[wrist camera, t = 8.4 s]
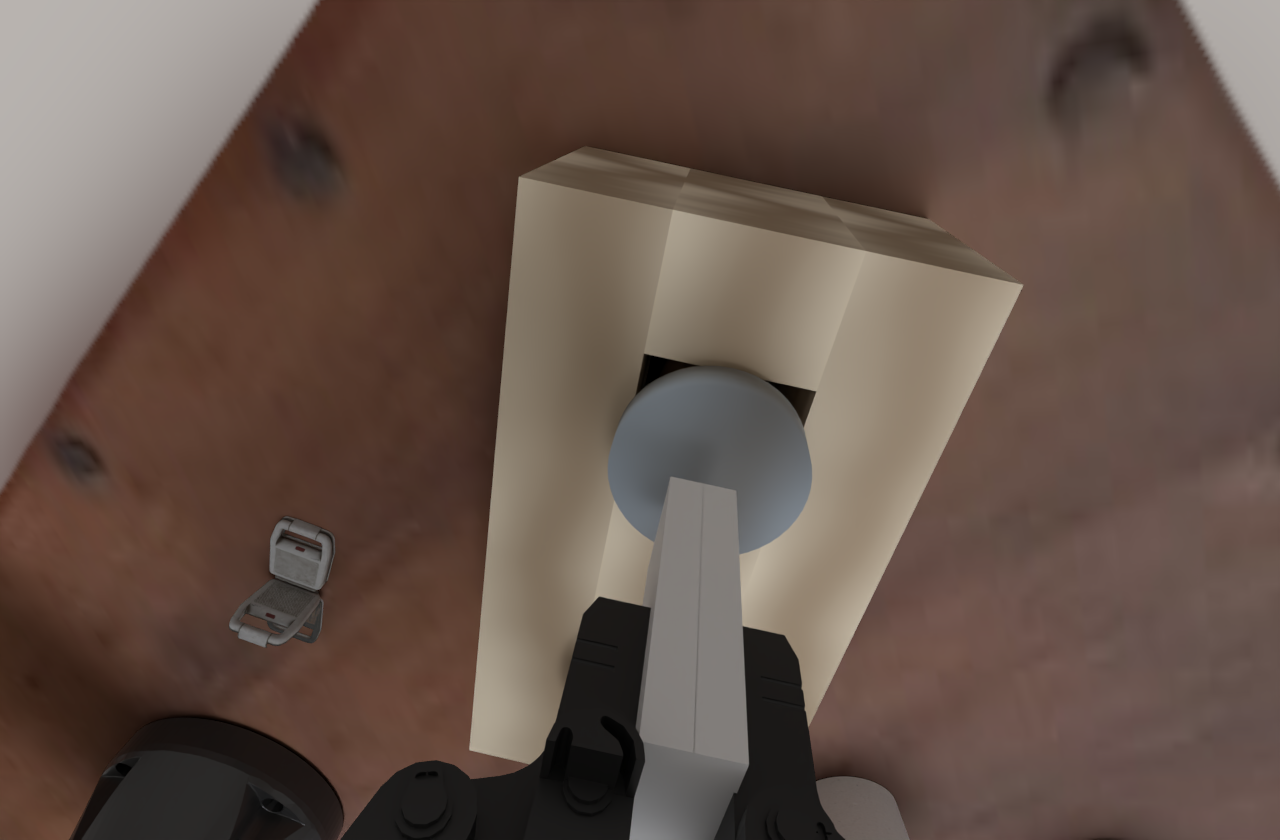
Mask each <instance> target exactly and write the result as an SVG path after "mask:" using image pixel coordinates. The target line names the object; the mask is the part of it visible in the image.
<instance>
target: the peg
mask: <svg viewBox="0 0 1280 840" xmlns="http://www.w3.org/2000/svg"><path fill="white" fill-rule="evenodd" d="M670 477H676V478H680V479H685V480H689V481H694V482H699V483H703V484H708V485H713V486H717V487H722V488H726V489H731V490H736V495H737V517H738V538H739V555H740V554H744V553H748V552H750V551H753V550H756V549H758V548H760V547H762V546H764V545H766V544H768V543H770V542H772V541H773V540H775V539H776V538H778V537H779V536H781V535H782V534H783V533H784V532H785V531H786V530H787V529H789V527H790V526H791V525H792V524H793V523H794V522H795V521H796V520H797V518H798V517H799V515H800V514H801V512H802V511H803V508H804V506H805V504H806V502H807V500H808V497H809V493H810V490H811V484H812V463H811V458H810V453H809V449H808V444H807V439H806V435H805V431H804V428H803V425H802V422H801V420H800V418H799V416H798V414H797V412H796V410H795V409H794V407H793V406H792V405H791V403H790V402H789V401H788V399H787V398H786V397H785V396H784V395H783V394H782V393H781V392H780V391H778V390H777V389H776V388H775V387H773V386H772V385H771V384H769V383H768V381H767V380H762V379H761V378H759V377H757V376H755V375H752V374H750V373H748V372H745V371H741V370H738V369H734V368H729V367H723V366H698V365H694V364H689V363H685V362H680V361H676V360H671V359H666V358H663V362H662V367H661V371H660V375H659V378H658V379H656V380H654V381H653V382H651V383H650V384H648V385H647V386H646V387H644V388H643V389H642V390H641V391H640V392H639V393H638V394H637V395H636V396H635V397H634V398H633V399H632V400H631V402H630V403H629V404H628V406H627V407H626V409H625V411H624V412H623V414H622V417H621V419H620V421H619V424H618V427H617V430H616V433H615V436H614V439H613V443H612V446H611V450H610V453H609V459H608V480H609V485H610V489H611V492H612V495H613V498H614V500H615V502H616V504H617V506H618V508H619V510H620V511H621V512H622V514H623V515H624V517H625V518H626V519H627V520H628V522H629V523H630V524H631V525H632V526H633V527H634V528H635V529H636V530H638V531H639V532H640V533H641V534H642V535H644V536H645V537H647V538H648V539H650V540H651V541H653V542H655V538H656V534H657V530H658V525H659V521H660V517H661V513H662V509H663V505H664V501H665V497H666V493H667V489H668V485H669V481H670Z"/></svg>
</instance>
